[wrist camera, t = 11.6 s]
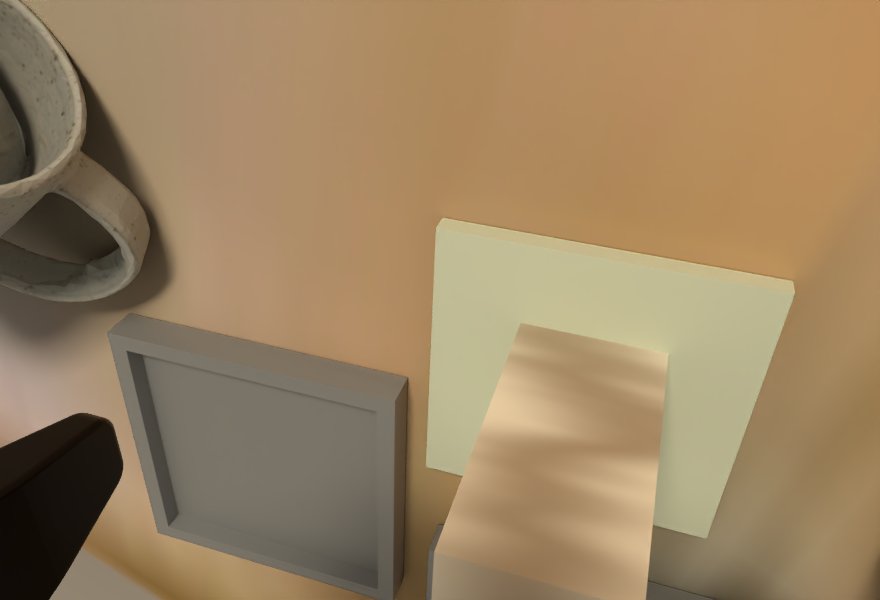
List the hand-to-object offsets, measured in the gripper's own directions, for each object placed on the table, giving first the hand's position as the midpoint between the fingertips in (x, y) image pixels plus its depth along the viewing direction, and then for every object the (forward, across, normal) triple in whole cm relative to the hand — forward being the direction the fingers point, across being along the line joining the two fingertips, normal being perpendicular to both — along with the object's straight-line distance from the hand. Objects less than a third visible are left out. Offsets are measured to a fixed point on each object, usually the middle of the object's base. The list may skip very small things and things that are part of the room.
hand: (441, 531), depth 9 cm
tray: (+12, +10, +14) cm, 20 cm away
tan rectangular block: (+11, -1, +7) cm, 13 cm away
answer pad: (+12, -1, +7) cm, 14 cm away
